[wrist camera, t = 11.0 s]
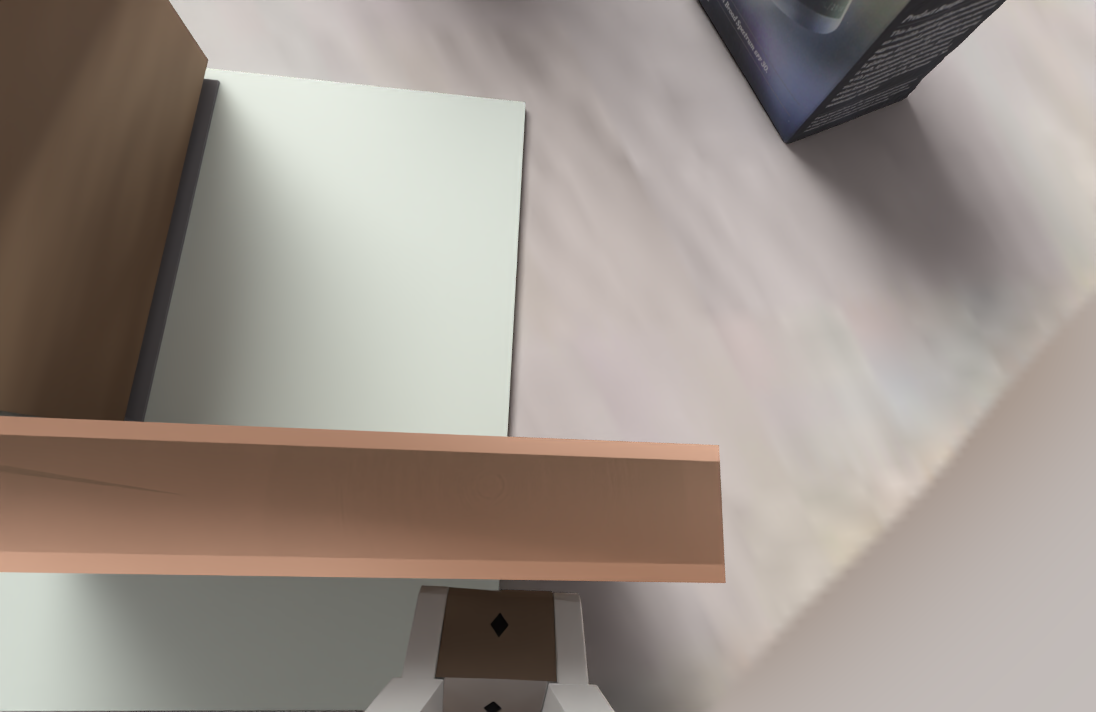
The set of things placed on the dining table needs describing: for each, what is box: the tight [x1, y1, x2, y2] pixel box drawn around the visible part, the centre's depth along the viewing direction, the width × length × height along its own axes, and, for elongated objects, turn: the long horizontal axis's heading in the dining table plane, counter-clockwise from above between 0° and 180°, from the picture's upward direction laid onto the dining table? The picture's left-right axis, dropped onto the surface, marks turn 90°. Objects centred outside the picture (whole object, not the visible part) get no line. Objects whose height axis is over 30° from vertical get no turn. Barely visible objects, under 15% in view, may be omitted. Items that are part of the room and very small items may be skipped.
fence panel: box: [0, 416, 725, 583], centre depth 10 cm, size 2×12×9 cm, turn 88°
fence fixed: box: [0, 0, 208, 421], centre depth 11 cm, size 2×14×10 cm, turn 178°
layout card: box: [0, 68, 526, 711], centre depth 15 cm, size 23×19×1 cm
